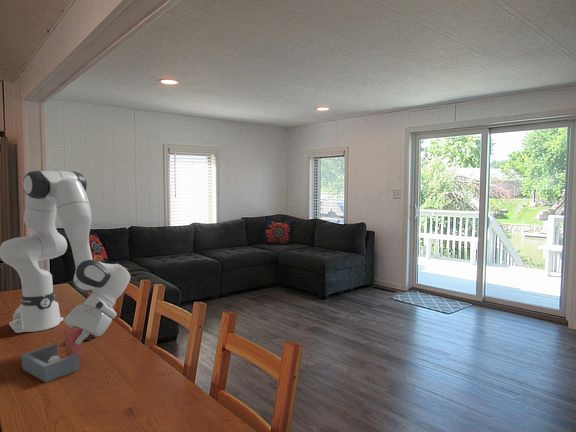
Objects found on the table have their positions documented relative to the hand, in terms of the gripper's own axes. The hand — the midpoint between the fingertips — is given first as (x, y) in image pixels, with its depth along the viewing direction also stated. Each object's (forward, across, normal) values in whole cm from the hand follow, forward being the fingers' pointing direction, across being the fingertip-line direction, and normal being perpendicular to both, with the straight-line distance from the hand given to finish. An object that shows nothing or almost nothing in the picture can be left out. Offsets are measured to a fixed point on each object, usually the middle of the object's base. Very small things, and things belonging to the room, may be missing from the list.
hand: (71, 341), depth 139 cm
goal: (+9, 0, 0) cm, 9 cm away
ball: (+10, 0, 0) cm, 10 cm away
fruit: (-5, -16, +15) cm, 22 cm away
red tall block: (+3, 0, +4) cm, 5 cm away
